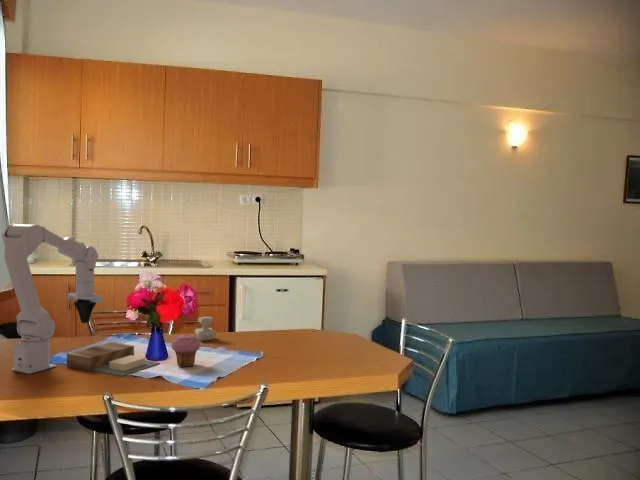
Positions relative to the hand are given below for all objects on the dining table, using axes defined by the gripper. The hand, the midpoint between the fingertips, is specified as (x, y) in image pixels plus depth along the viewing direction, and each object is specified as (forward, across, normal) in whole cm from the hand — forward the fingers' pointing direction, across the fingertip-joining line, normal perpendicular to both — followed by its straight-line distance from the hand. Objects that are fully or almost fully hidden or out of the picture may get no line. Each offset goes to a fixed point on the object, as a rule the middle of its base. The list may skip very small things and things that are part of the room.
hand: (85, 322), depth 199 cm
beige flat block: (+8, -24, +5) cm, 26 cm away
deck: (+10, -13, +5) cm, 17 cm away
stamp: (+11, -21, -37) cm, 44 cm away
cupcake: (+11, -38, -6) cm, 40 cm away
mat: (+10, -24, +5) cm, 27 cm away
